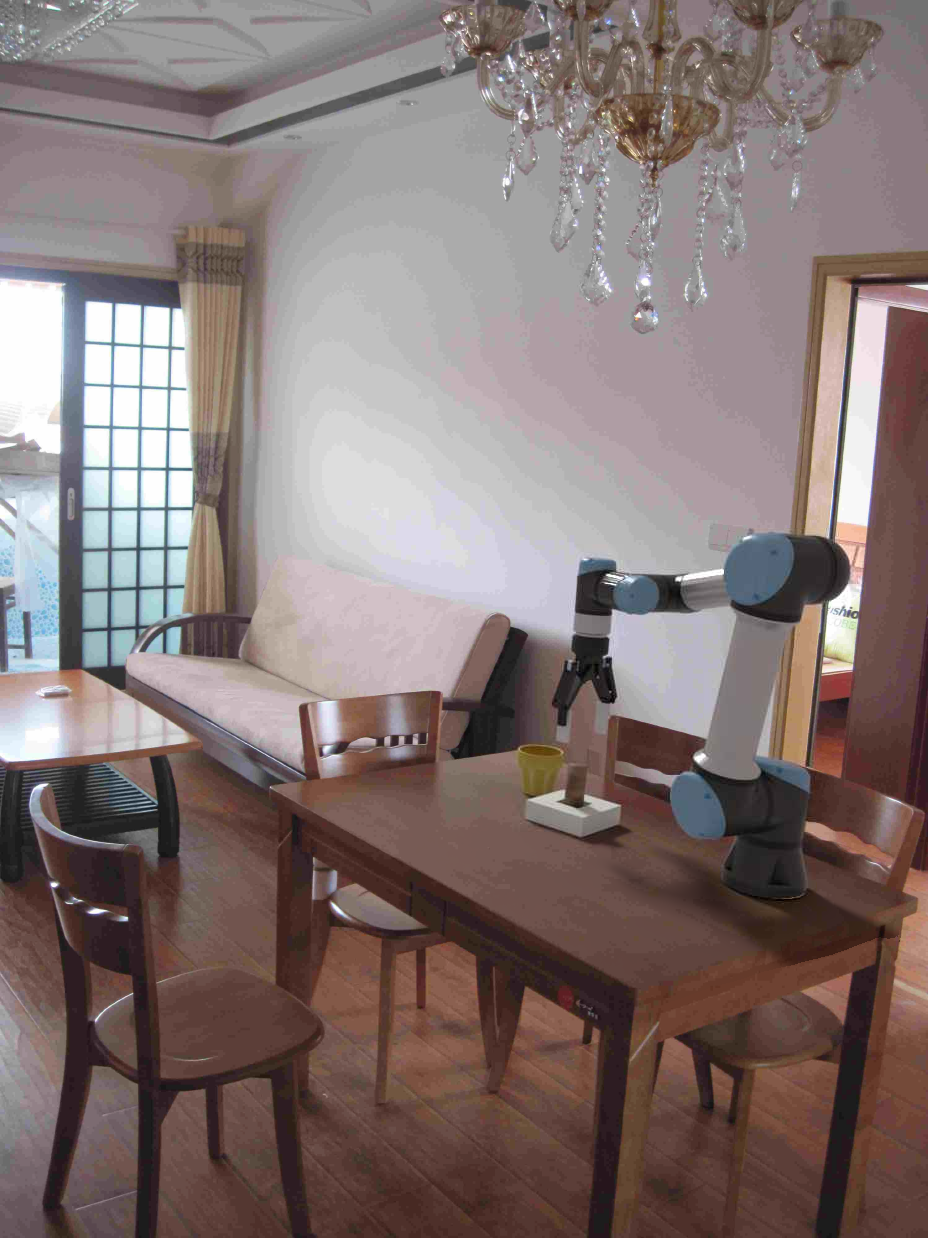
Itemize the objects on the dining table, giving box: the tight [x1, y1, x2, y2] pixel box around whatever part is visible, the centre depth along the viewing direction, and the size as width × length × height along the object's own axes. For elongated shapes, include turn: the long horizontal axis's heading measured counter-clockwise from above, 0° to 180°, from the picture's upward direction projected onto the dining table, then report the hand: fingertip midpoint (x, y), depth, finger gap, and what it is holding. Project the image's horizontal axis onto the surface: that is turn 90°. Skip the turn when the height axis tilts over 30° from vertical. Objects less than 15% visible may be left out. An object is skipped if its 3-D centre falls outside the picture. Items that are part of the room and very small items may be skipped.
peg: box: [564, 761, 588, 809], centre depth 236 cm, size 4×4×12 cm
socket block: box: [524, 788, 622, 838], centre depth 237 cm, size 14×14×4 cm
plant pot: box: [516, 744, 565, 797], centre depth 255 cm, size 10×10×10 cm
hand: (581, 737), depth 234 cm, fingers open, 13 cm apart
